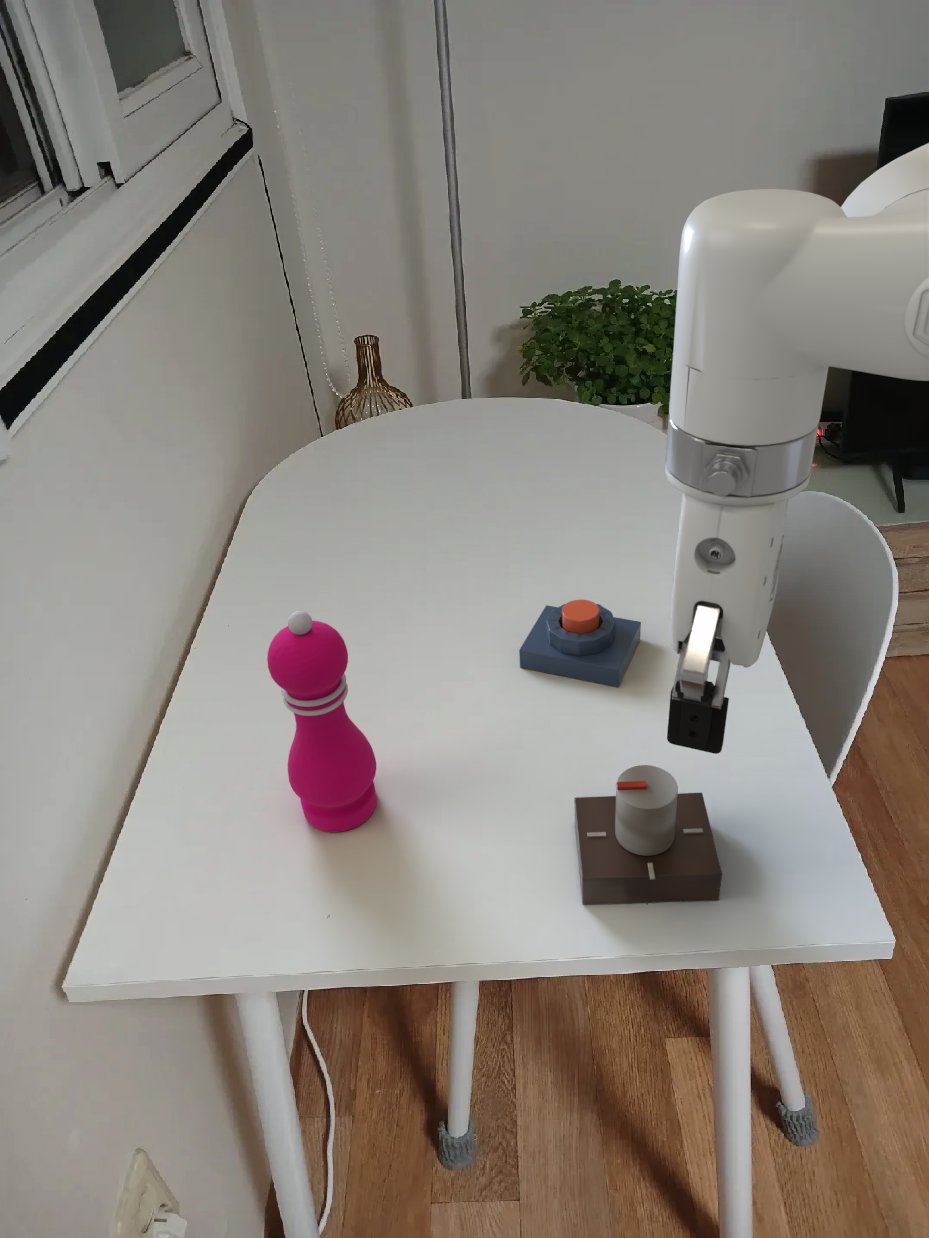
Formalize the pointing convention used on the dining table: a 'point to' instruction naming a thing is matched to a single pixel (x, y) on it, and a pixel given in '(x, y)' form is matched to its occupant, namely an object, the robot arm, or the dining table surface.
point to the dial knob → (645, 810)
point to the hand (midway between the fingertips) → (710, 695)
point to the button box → (581, 648)
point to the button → (580, 616)
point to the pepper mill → (322, 726)
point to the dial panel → (646, 857)
